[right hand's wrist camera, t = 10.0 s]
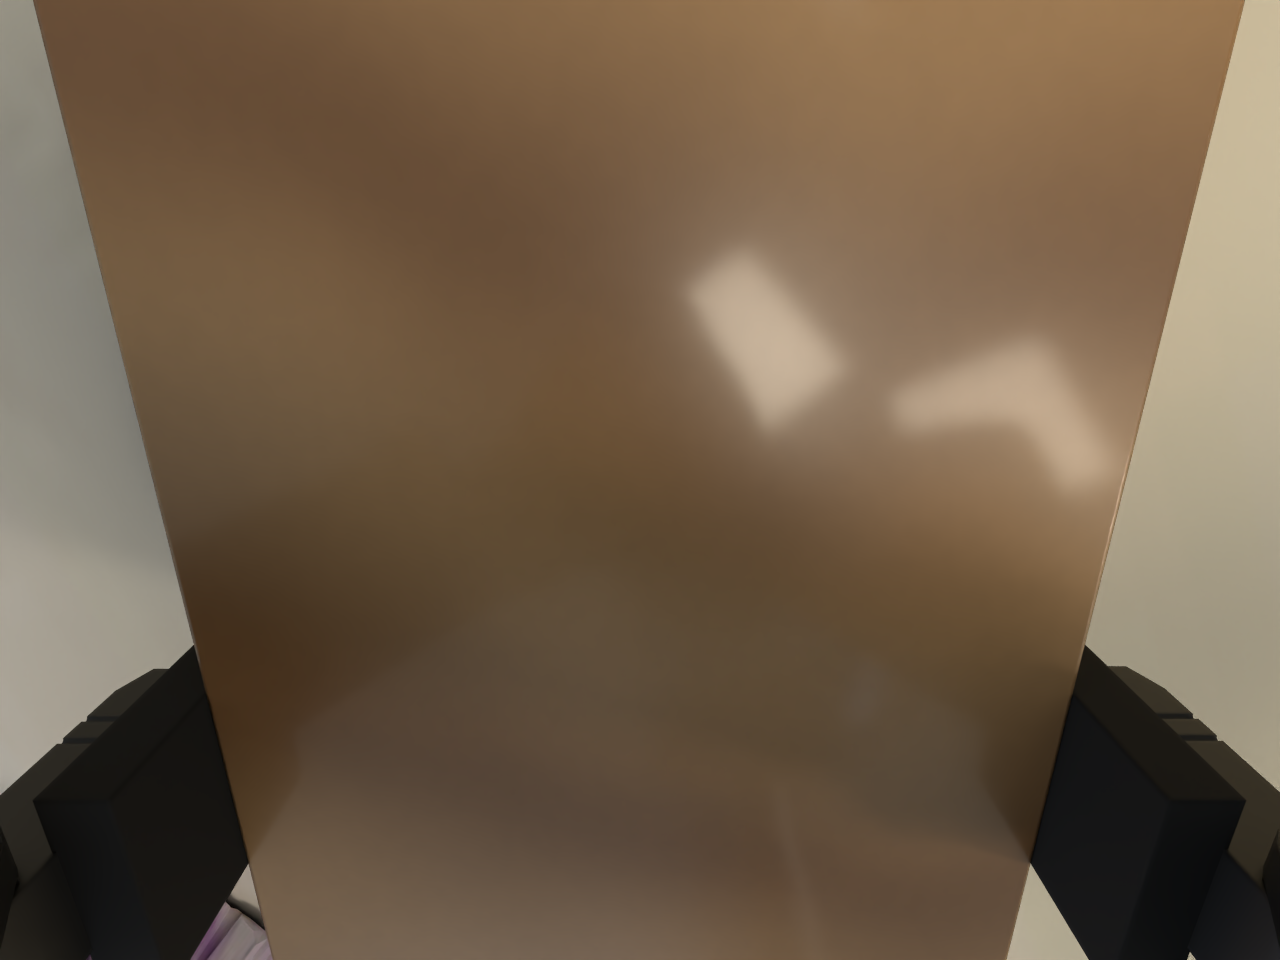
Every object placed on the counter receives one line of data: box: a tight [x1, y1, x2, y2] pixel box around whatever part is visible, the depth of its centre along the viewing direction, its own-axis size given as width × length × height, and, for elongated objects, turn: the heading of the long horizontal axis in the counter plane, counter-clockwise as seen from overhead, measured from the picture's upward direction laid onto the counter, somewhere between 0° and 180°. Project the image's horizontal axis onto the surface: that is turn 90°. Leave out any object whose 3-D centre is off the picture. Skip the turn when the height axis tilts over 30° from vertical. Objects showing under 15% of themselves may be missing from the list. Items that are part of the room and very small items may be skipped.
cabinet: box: [33, 0, 1245, 960], centre depth 10 cm, size 21×10×8 cm, turn 0°
